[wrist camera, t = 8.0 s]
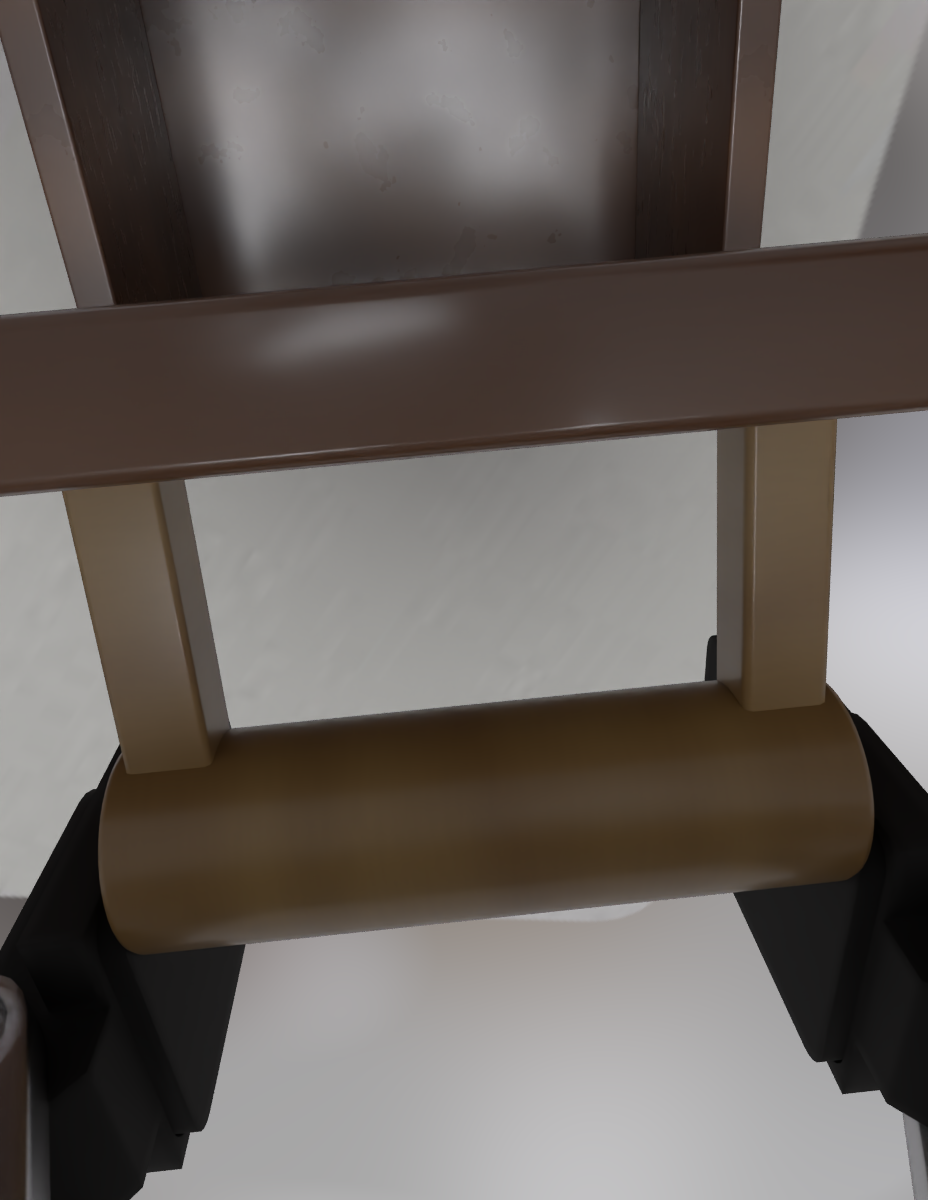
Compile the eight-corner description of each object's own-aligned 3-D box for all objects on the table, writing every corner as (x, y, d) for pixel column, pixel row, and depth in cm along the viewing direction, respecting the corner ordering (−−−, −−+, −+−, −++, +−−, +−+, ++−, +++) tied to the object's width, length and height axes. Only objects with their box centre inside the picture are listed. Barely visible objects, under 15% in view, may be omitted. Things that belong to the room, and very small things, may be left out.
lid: (-1571, 451, 3) (-897, 1299, 5) (2269, 112, 4) (1845, 992, 5) (91, 385, 20) (131, 577, 21) (760, 324, 20) (757, 517, 22)
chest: (46, -301, 21) (-190, -624, 13) (673, -346, 22) (843, -689, 13) (190, 337, 29) (100, 397, 20) (653, 296, 29) (753, 338, 21)
